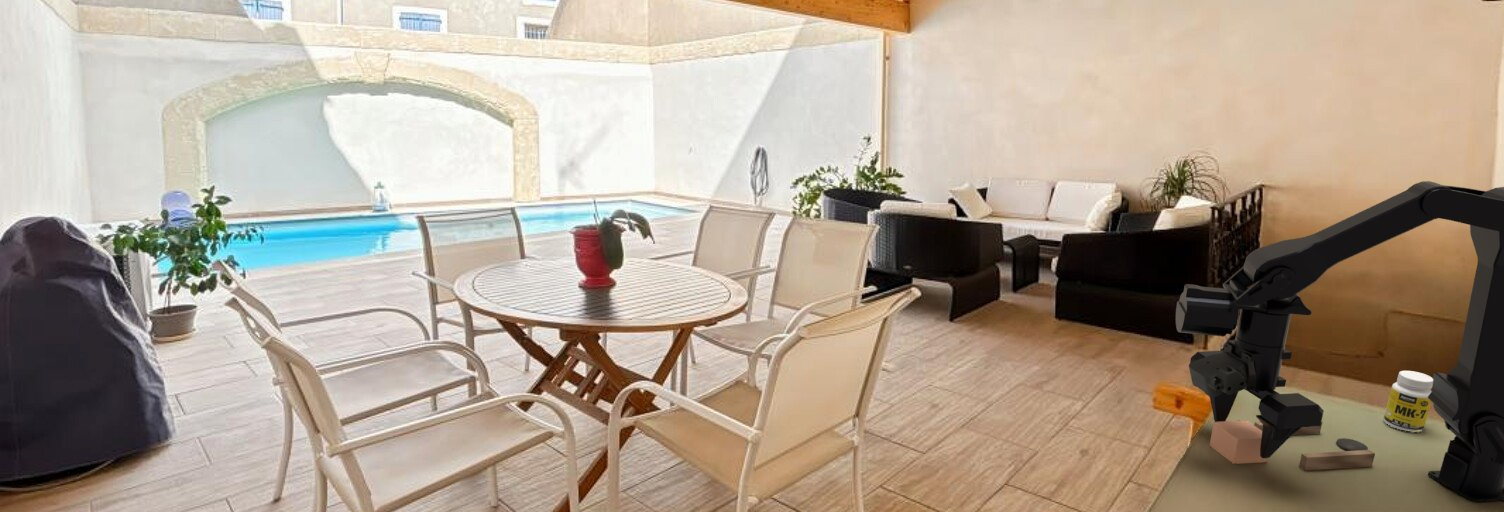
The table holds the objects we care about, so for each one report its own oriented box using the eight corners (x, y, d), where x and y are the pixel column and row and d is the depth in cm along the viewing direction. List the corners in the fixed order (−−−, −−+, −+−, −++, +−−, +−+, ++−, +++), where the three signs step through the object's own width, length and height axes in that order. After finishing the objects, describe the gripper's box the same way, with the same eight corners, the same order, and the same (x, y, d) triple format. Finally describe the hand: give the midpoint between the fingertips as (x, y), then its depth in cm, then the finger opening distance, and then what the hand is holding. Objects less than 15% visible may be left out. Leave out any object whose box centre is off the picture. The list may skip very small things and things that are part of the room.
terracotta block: (1241, 444, 111) (1246, 420, 109) (1266, 462, 106) (1271, 437, 105) (1209, 446, 110) (1213, 421, 109) (1232, 464, 105) (1237, 439, 104)
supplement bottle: (1387, 429, 114) (1399, 378, 112) (1379, 415, 118) (1391, 366, 116) (1427, 436, 112) (1441, 385, 110) (1418, 422, 116) (1431, 372, 114)
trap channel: (1334, 429, 114) (1337, 417, 114) (1394, 465, 105) (1397, 452, 104) (1252, 433, 113) (1254, 422, 113) (1304, 470, 104) (1307, 457, 103)
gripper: (1163, 317, 111) (1148, 412, 116) (1254, 370, 93) (1233, 480, 98) (1234, 314, 112) (1217, 408, 116) (1337, 366, 94) (1313, 475, 99)
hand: (1241, 440), depth 107 cm, fingers open, 9 cm apart
